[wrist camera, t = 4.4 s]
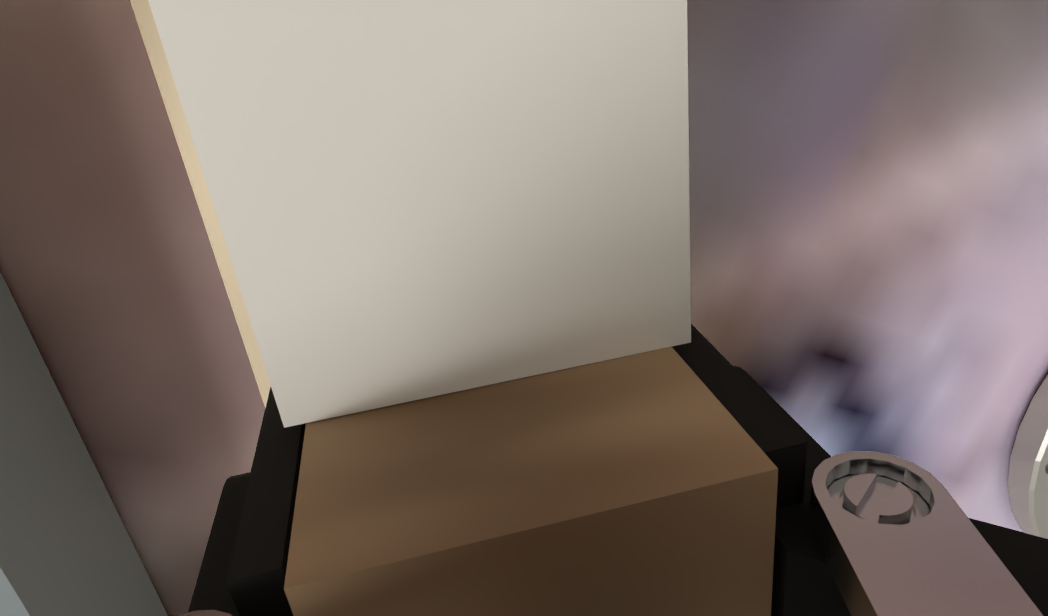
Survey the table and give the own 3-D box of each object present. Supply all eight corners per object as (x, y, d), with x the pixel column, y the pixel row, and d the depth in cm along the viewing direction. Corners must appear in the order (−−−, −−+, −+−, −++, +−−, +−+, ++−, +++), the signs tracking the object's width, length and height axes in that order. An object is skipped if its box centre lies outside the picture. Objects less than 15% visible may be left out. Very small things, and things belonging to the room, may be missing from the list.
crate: (554, -75, 11) (685, -122, 7) (580, 224, 13) (690, 342, 9) (230, -36, 10) (129, -60, 6) (312, 272, 13) (283, 427, 8)
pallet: (593, -275, 12) (1191, -974, 3) (644, 584, 20) (845, 1007, 12) (91, -235, 11) (-974, -1129, 2) (369, 656, 19) (375, 1178, 11)
